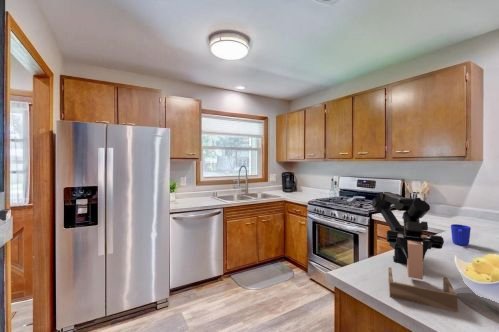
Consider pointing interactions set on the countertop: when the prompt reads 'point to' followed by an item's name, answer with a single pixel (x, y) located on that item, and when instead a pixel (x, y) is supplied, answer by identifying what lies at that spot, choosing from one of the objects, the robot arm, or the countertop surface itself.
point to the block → (415, 259)
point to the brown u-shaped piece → (425, 294)
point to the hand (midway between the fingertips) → (415, 259)
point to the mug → (460, 234)
